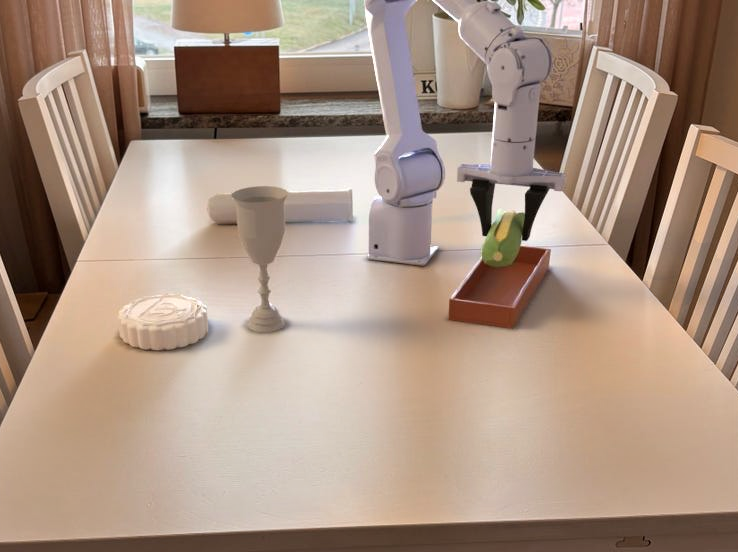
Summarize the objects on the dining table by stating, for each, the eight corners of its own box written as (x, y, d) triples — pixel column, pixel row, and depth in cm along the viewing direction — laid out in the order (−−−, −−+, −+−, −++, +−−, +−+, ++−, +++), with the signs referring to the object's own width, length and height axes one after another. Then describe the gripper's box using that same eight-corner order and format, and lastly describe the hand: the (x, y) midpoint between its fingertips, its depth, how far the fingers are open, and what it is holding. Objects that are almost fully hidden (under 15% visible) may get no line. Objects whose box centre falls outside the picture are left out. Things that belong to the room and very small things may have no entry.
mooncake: (184, 356, 134) (181, 331, 132) (103, 344, 137) (99, 319, 135) (223, 320, 143) (221, 296, 141) (146, 310, 147) (143, 286, 145)
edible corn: (476, 274, 138) (478, 241, 136) (494, 224, 154) (496, 193, 152) (515, 276, 137) (518, 243, 135) (529, 225, 153) (531, 195, 151)
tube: (204, 205, 174) (352, 201, 173) (206, 186, 177) (351, 182, 177) (207, 231, 178) (352, 227, 178) (209, 212, 181) (351, 208, 181)
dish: (448, 319, 142) (449, 299, 140) (491, 261, 161) (492, 242, 159) (512, 328, 139) (514, 308, 138) (548, 268, 158) (550, 248, 156)
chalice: (252, 339, 138) (244, 205, 128) (231, 321, 143) (222, 191, 133) (301, 328, 141) (297, 196, 131) (279, 311, 146) (274, 183, 136)
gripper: (453, 140, 137) (448, 239, 145) (562, 149, 132) (551, 251, 140) (467, 127, 143) (461, 224, 150) (572, 135, 138) (561, 235, 145)
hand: (505, 236), depth 145 cm, fingers closed on edible corn, 5 cm apart
